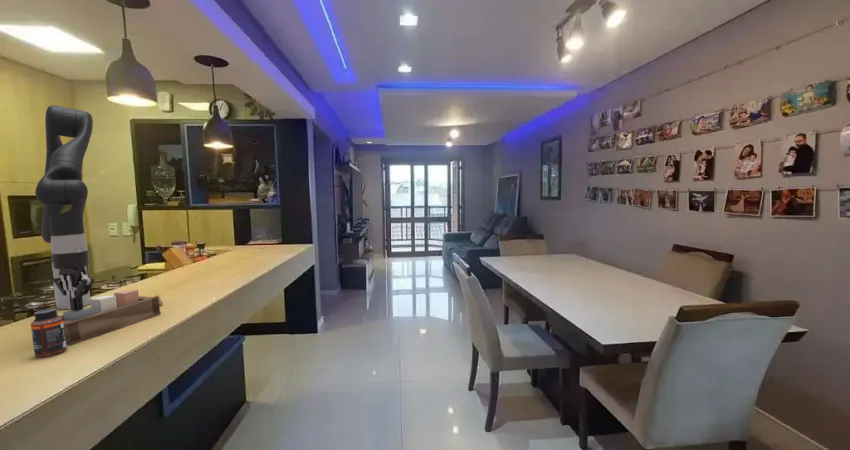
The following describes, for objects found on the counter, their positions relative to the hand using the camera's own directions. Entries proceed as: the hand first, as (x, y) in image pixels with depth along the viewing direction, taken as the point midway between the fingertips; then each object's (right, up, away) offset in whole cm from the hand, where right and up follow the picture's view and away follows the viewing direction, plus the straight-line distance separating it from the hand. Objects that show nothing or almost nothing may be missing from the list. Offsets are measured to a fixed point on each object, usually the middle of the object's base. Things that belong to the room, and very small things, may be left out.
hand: (77, 309), depth 110 cm
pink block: (+4, -2, +14) cm, 14 cm away
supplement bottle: (+4, -9, -12) cm, 15 cm away
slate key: (0, -5, +1) cm, 5 cm away
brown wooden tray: (+2, -7, +7) cm, 10 cm away
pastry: (+1, -6, +27) cm, 28 cm away
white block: (+2, -3, +7) cm, 8 cm away
